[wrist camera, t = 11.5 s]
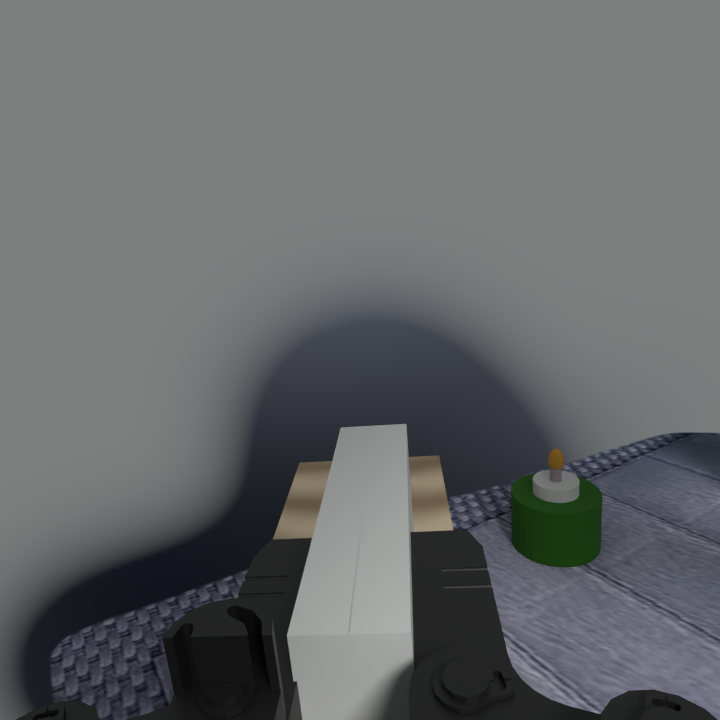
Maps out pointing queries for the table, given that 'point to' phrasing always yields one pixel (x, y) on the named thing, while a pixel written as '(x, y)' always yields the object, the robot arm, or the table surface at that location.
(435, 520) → the press block
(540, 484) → the candle
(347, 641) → the robot arm
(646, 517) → the table surface
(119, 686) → the table surface
